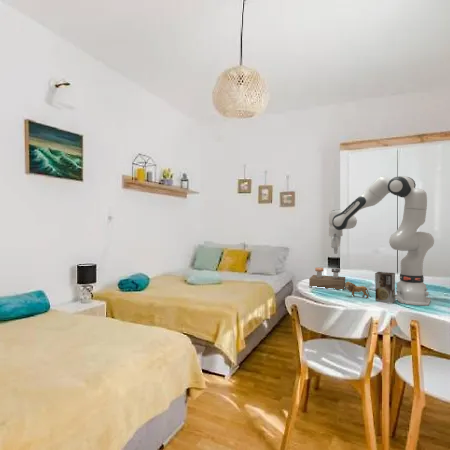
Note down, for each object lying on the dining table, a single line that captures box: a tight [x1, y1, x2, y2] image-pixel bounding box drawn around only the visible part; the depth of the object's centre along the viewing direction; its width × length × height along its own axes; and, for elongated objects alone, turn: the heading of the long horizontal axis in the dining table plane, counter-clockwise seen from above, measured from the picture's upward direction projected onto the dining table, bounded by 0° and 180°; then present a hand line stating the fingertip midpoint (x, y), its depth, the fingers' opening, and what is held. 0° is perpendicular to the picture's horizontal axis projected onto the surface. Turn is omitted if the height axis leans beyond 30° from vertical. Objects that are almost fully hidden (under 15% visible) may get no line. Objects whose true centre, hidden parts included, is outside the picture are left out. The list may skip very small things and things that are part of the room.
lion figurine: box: [344, 281, 372, 299], centre depth 189 cm, size 15×5×9 cm, turn 69°
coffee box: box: [374, 271, 396, 304], centre depth 179 cm, size 9×6×16 cm
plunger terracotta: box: [314, 266, 325, 278], centre depth 222 cm, size 6×6×8 cm
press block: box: [308, 274, 346, 290], centre depth 219 cm, size 16×22×6 cm
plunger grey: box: [331, 267, 341, 279], centre depth 217 cm, size 6×6×8 cm
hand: (335, 253), depth 217 cm, fingers closed
